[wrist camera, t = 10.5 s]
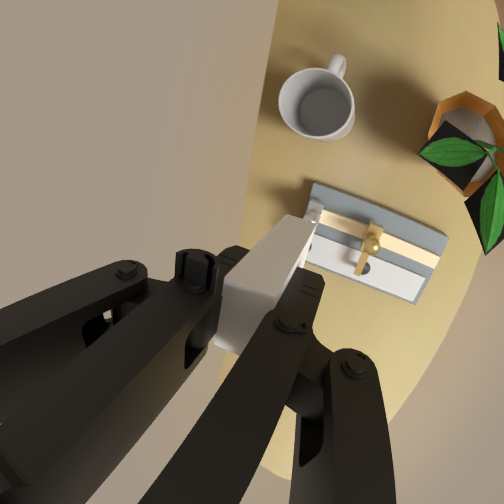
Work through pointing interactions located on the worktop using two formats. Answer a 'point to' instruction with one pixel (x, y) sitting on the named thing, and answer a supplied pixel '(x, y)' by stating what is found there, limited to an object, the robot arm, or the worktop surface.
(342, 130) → the mug
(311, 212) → the fixed leg
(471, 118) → the potted plant
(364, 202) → the board
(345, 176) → the worktop surface
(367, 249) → the brass slider pointer
